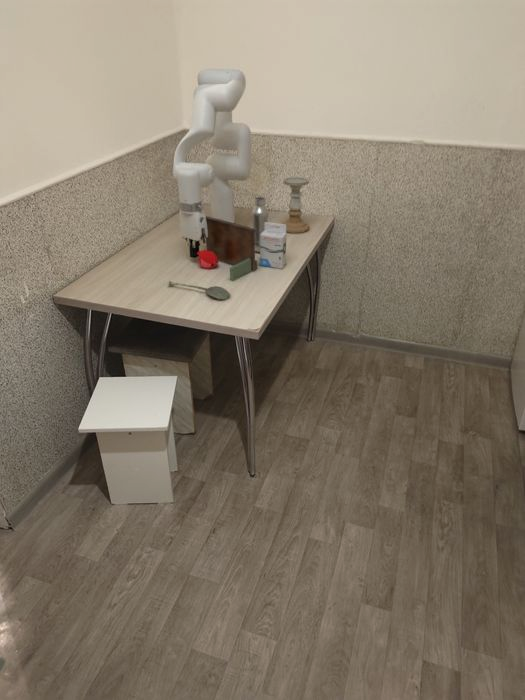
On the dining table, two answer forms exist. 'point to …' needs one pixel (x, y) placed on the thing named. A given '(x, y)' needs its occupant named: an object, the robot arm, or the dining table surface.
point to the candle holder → (295, 205)
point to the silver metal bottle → (259, 219)
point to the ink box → (273, 245)
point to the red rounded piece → (207, 259)
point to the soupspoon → (209, 290)
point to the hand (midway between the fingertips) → (194, 256)
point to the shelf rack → (232, 245)
